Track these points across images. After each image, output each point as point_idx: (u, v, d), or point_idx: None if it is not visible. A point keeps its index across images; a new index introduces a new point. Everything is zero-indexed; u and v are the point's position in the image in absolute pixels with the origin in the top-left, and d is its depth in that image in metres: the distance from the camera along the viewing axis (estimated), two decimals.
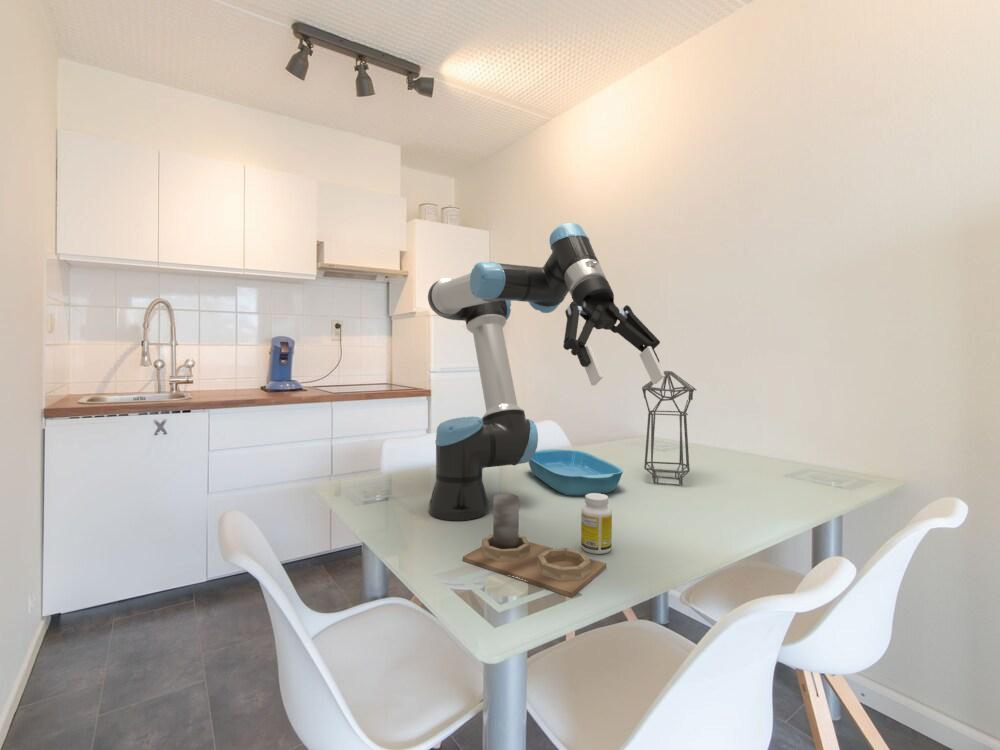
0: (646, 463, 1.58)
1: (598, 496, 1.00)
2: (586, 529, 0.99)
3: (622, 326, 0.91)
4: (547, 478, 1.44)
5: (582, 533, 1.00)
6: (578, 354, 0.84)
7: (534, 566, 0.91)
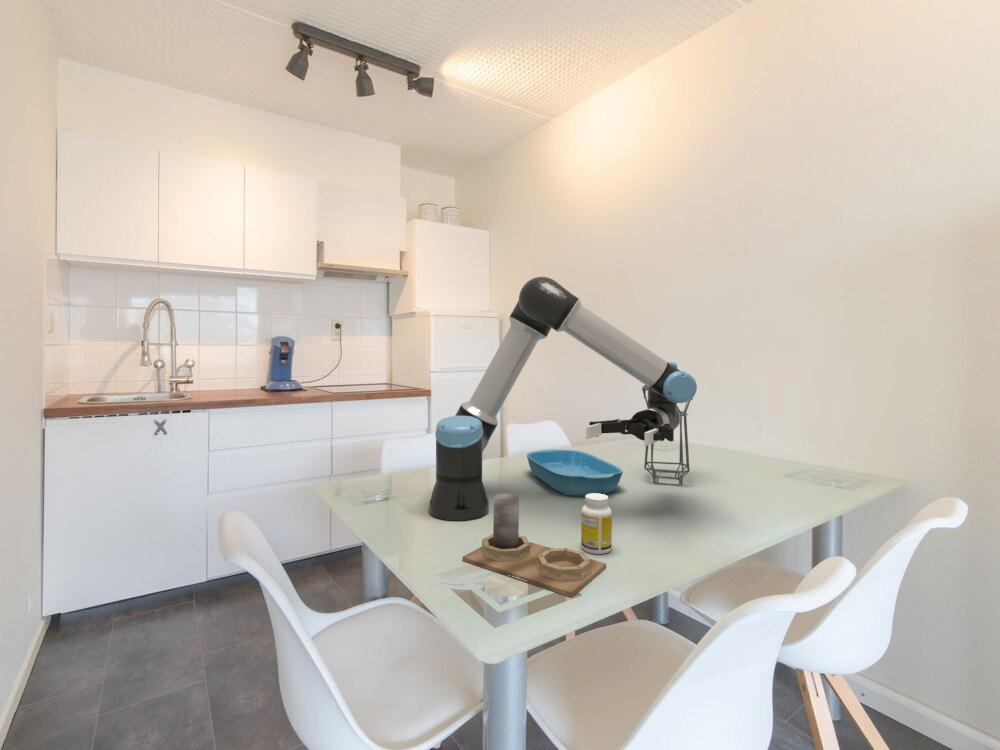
0: (646, 463, 1.58)
1: (598, 496, 1.00)
2: (586, 529, 0.99)
3: (622, 430, 1.19)
4: (547, 478, 1.44)
5: (582, 533, 1.00)
6: (662, 434, 1.07)
7: (534, 566, 0.91)
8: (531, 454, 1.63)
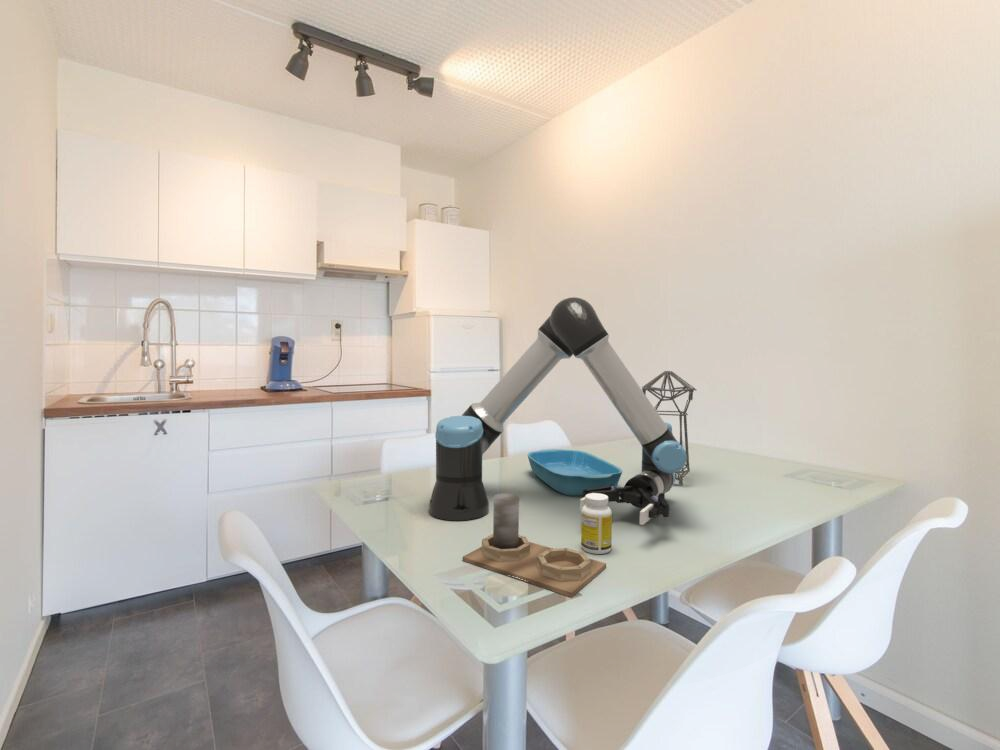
0: None
1: (598, 496, 1.00)
2: (586, 529, 0.99)
3: (616, 498, 1.16)
4: (546, 478, 1.44)
5: (582, 533, 1.00)
6: (657, 511, 1.05)
7: (534, 566, 0.91)
8: (532, 454, 1.64)
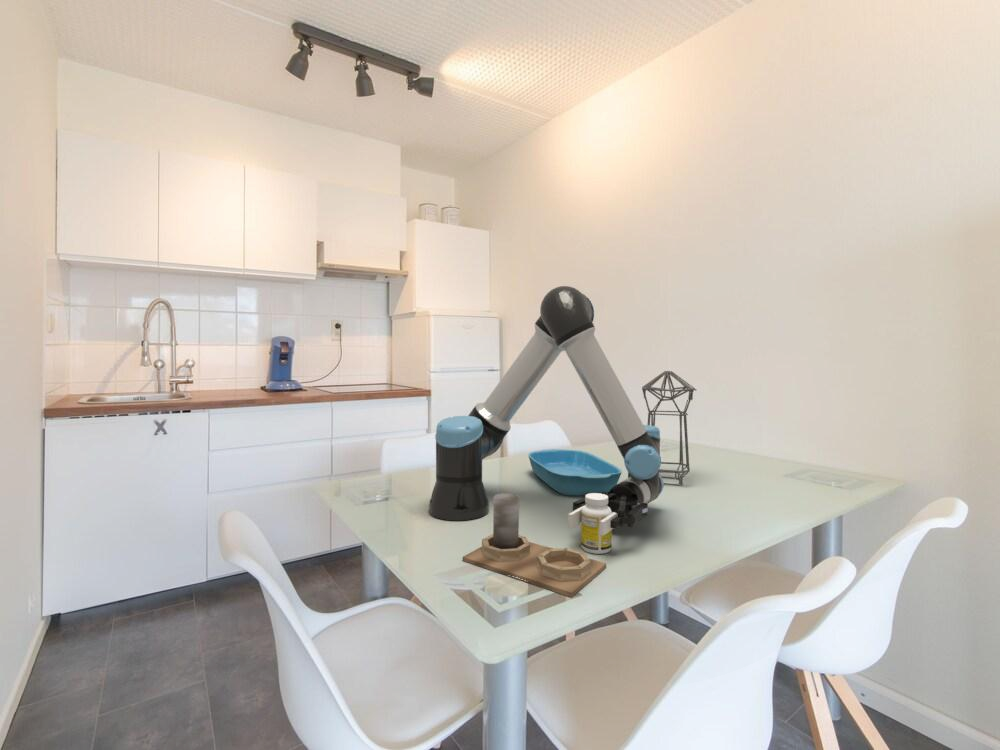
0: None
1: (598, 496, 1.00)
2: (586, 529, 0.99)
3: None
4: (546, 477, 1.45)
5: (582, 533, 1.00)
6: (620, 520, 0.98)
7: (534, 566, 0.91)
8: (533, 454, 1.64)
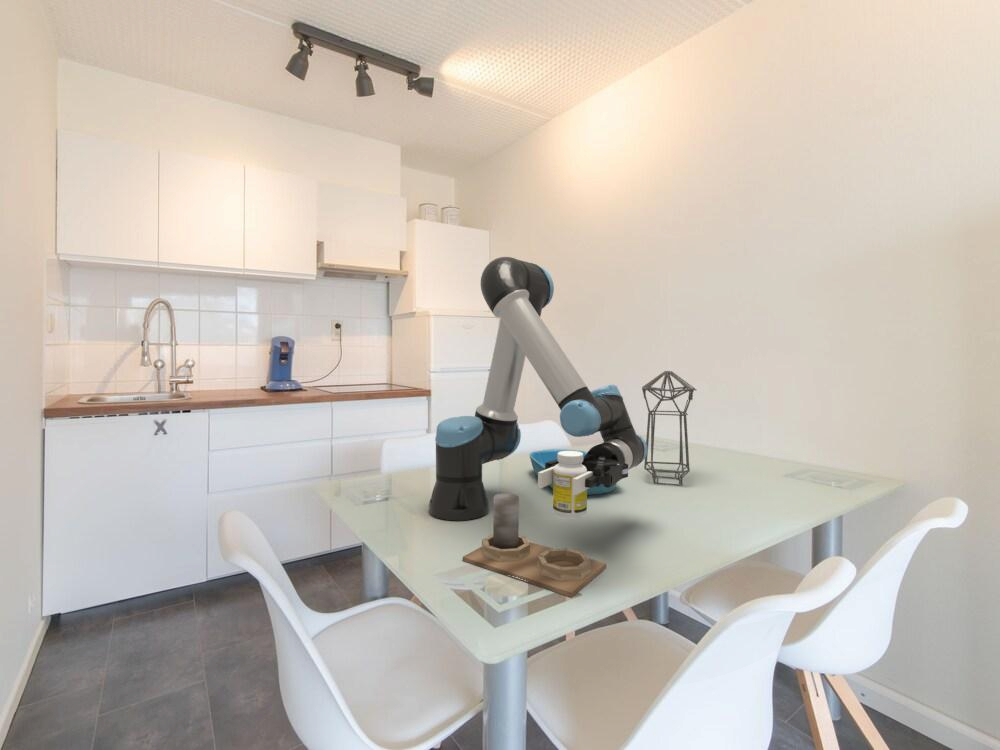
0: (646, 463, 1.58)
1: (572, 453, 0.89)
2: (558, 490, 0.87)
3: None
4: None
5: (554, 495, 0.89)
6: (596, 479, 0.87)
7: (534, 566, 0.91)
8: (534, 453, 1.65)
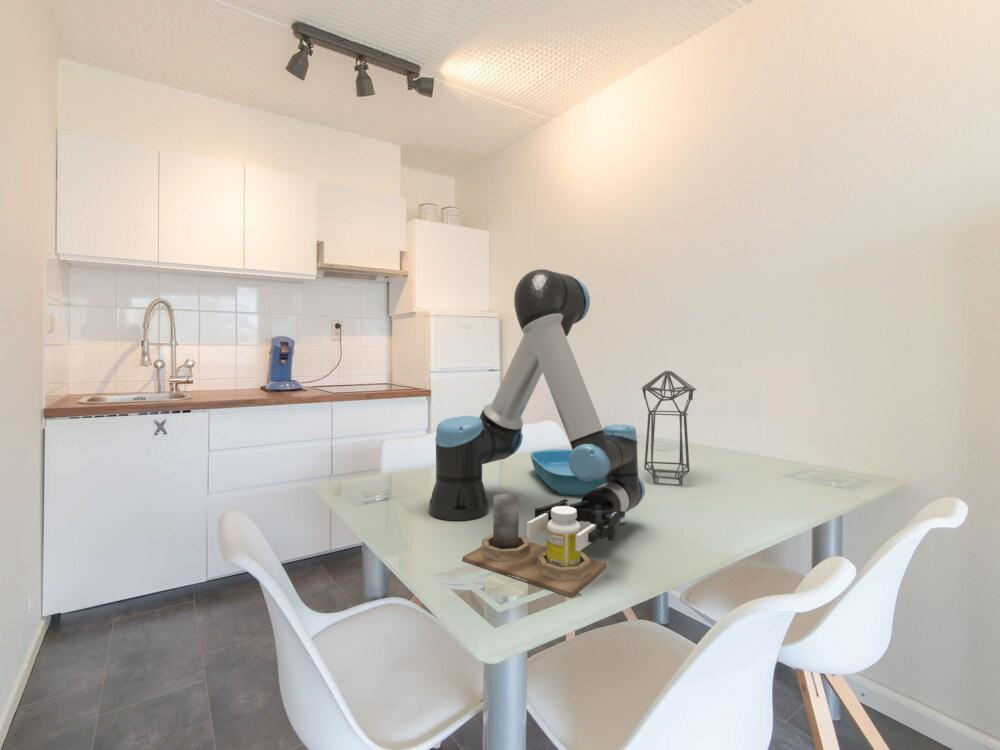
0: (646, 463, 1.58)
1: (565, 510, 0.89)
2: (552, 547, 0.87)
3: None
4: (544, 477, 1.45)
5: (547, 551, 0.89)
6: (599, 533, 0.86)
7: (534, 566, 0.91)
8: (536, 453, 1.65)
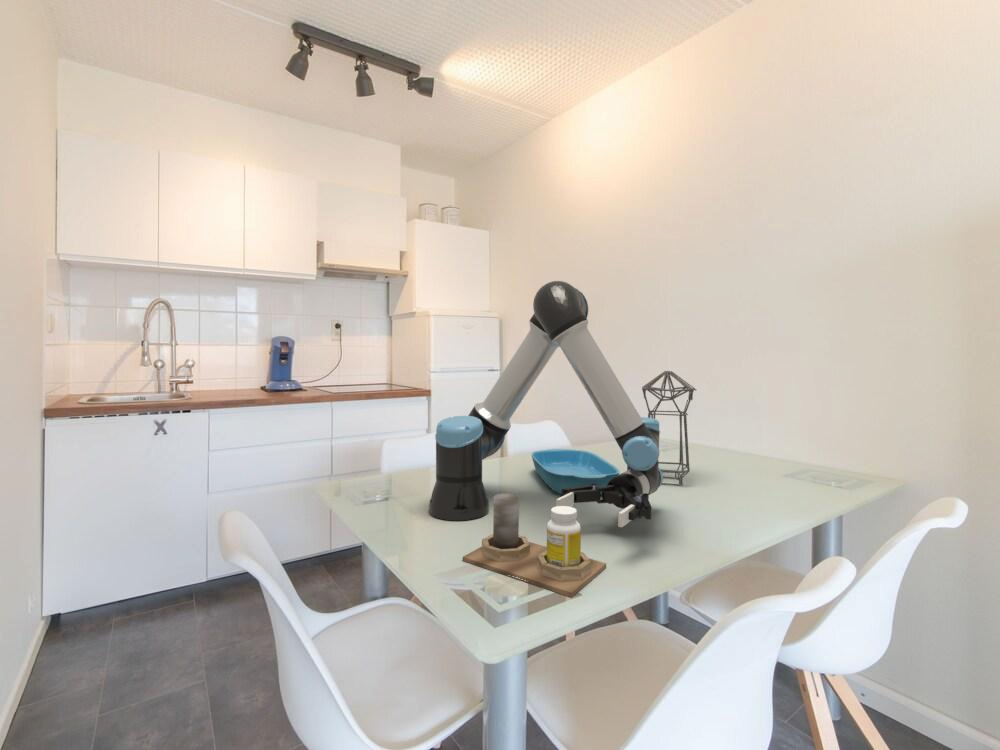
0: None
1: (565, 510, 0.89)
2: (552, 547, 0.87)
3: (596, 499, 1.09)
4: (544, 476, 1.46)
5: (547, 551, 0.89)
6: (638, 512, 0.97)
7: (534, 566, 0.91)
8: (537, 453, 1.65)
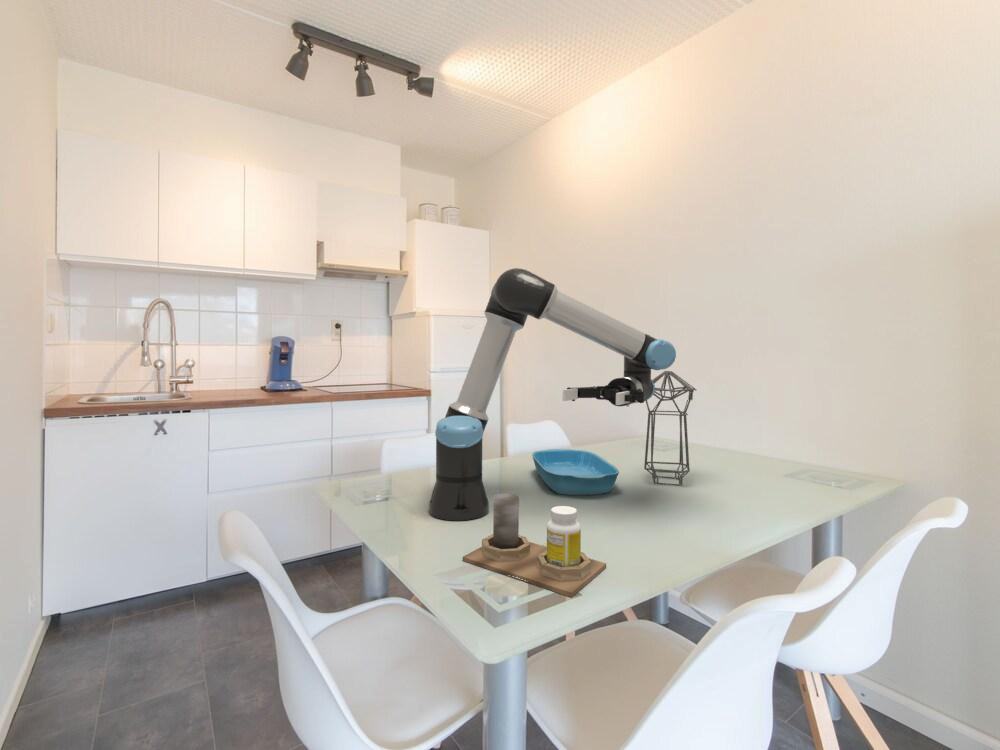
0: (646, 463, 1.58)
1: (565, 510, 0.89)
2: (552, 547, 0.87)
3: (597, 395, 1.26)
4: (543, 476, 1.46)
5: (547, 551, 0.89)
6: (633, 396, 1.14)
7: (534, 566, 0.91)
8: (538, 453, 1.66)
